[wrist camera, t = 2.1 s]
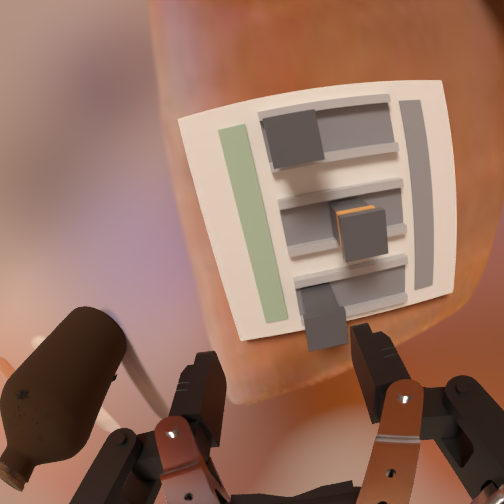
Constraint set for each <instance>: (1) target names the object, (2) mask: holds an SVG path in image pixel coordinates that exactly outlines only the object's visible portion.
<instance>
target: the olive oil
mask: <svg viewBox="0 0 504 504" xmlns="http://www.w3.org/2000/svg"><path fill="white" fill-rule="evenodd" d="M125 352H126V340H125V336H124V334H123V332H122V330H121V329H120V327H119V326H118V325H117V323H116V322H115V321H114V320H113V319H112V318H111V317H109V316H108V315H107V314H105V313H104V312H102V311H100V310H98V309H95V308H92V307H85V306H84V307H78V308H76V309H74V310H73V311H72V312H71V313H70V314H69V315H68V316H67V317H66V318H65V319H64V320H63V321H62V322H61V323H60V324H59V325H58V326H57V327H56V328H55V330H54V331H53V332H52V333H51V334H50V335H49V336H48V337H47V338H46V339H45V340H44V341H43V342H42V343H41V344H40V345H39V346H38V347H37V348H36V350H35V351H34V352H33V353H32V354H31V355H30V356H29V357H28V358H27V359H26V360H25V361H24V363H22V365H21V366H20V367H19V368H18V369H17V370H16V371H15V372H14V373H13V374H12V375H11V377H10V378H9V379H8V380H7V382H6V384H5V386H4V388H3V391H2V395H1V398H0V411H1V416H2V421H3V426H4V430H5V434H6V438H7V447H6V449H5V451H4V452H3V454H2V455H1V457H0V478H1V479H2V480H3V481H4V482H6V483H7V484H8V485H10V486H11V487H13V488H15V489H16V490H18V491H23V489H24V484H25V482H28V481H29V478H30V476H31V474H32V472H33V469H34V467H35V466H37V465H40V464H45V463H51V462H57V461H62V460H66V459H69V458H72V457H73V456H75V455H76V454H77V453H78V452H79V451H80V450H81V449H82V448H83V447H84V446H85V444H86V443H87V440H88V439H89V437H90V434H91V431H92V429H93V426H94V423H95V421H96V418H97V416H98V413H99V411H100V408H101V406H102V403H103V401H104V399H105V396H106V394H107V392H108V389H109V387H110V385H111V382H113V381H114V380H115V379H116V377H117V375H116V376H115V373H116V371H117V369H118V366H119V365H120V363H121V361H122V359H123V356H124V354H125Z"/></svg>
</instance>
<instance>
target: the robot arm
mask: <svg viewBox="0 0 504 504" xmlns="http://www.w3.org/2000/svg"><path fill="white" fill-rule="evenodd" d="M350 337H351V355H352V361H353V366H354V369H355V372H356V375H357V378H358V381H359V384H360V387H361V390H362V393H363V396H364V399H365V403H366V406H367V409H368V412H369V415H370V419H371V422H372V424H374V423H378V422H379V423H380V426H379V430H378V434H377V437H376V438H375V442H374V445H373V449H372V453H371V457H370V460H369V464H368V467H367V471H366V474H365V477H364V480H363V483H362V487H353V483H352V480H351V481H346V482H341V483H336V484H331V485H326V486H321V487H319V488H316V489H314V490H311V491H308V492H305V493H303V494H300V495H297V496H294V497H282V496H274V495H266V494H241V495H231V498H230V496H229V495H228V493H227V491H226V490H225V488H224V486H223V483H222V481H221V479H220V477H219V474H218V472H217V470H216V468H215V465H214V463H213V461H212V458H211V457H210V448H211V447H219V445H220V437H221V429H222V420H223V412H224V405H225V397H226V388H227V384H226V378H225V374H224V372H223V369H222V367H221V364H220V362H219V359H218V357H217V354H216V352H215V351H208V352H199V353H197V354H196V358H195V361H194V365H187V367H186V368H185V369H184V370H183V372H182V373H181V375H180V379H179V382H178V383H179V384H178V385H177V389H176V390H177V391H176V393H175V396H174V399H173V402H172V406H171V409H170V413H169V416H168V417H166V418H164V419H163V420H161V421H160V422H159V423H158V424H157V426H156V428H155V430H154V431H150V432H147V433H142V434H138V435H136V434H135V433H134V432H133V431H132V430H131V429H128V428H120V429H117V430H115V431H113V432H112V433H111V434H110V435H109V436H108V438H107V439H106V441H105V443H104V444H103V446H102V448H101V450H100V451H99V453H98V455H97V457H96V458H95V460H94V461H93V463H92V465H91V467H90V469H89V470H88V472H87V474H86V475H85V477H84V479H83V480H82V482H81V484H80V486H79V488H78V489H77V491H76V493H75V494H74V496H73V498H72V500H71V502H70V503H69V504H154V502H155V499H156V497H157V495H158V492H159V490H160V487H161V485H162V487H163V490H164V494H165V497H166V500H167V504H409V501H410V497H411V493H412V488H413V484H414V478H415V473H416V468H417V461H418V456H419V450H420V440H429V439H434V441H435V442H436V444H437V445H438V447H439V448H440V450H441V451H442V453H443V454H444V456H445V457H446V459H447V460H448V462H449V464H450V465H451V467H452V468H453V470H454V471H455V473H456V474H457V476H458V478H459V479H460V481H461V482H462V484H463V485H464V487H465V489H466V490H467V492H468V494H469V495H470V497H471V498H472V500H473V501H472V502H471V503H470V504H504V411H503V410H502V408H501V407H500V406H499V405H498V404H497V403H496V402H495V401H494V399H493V398H492V397H491V396H490V395H489V394H488V393H487V392H486V391H485V390H484V388H483V387H482V386H481V385H480V384H479V383H478V382H477V381H476V380H475V379H473V378H472V377H469V376H465V375H461V376H456V377H454V378H452V379H451V380H450V381H449V382H448V383H447V385H446V387H436V388H426V387H422V386H421V385H420V384H419V383H418V382H416V381H414V380H412V379H411V378H410V376H409V374H408V372H407V370H406V368H405V366H404V364H403V362H402V360H401V358H400V356H399V354H398V353H397V351H396V348H395V347H394V345H393V343H392V341H391V339H390V337H388V336H387V335H386V334H384V333H383V332H381V331H380V332H377V333H372V331H371V329H370V326H369V324H368V323H364V324H359V325H355V326H351V327H350Z"/></svg>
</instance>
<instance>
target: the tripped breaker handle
mask: <svg viewBox="0 0 504 504" xmlns="http://www.w3.org/2000/svg"><path fill="white" fill-rule="evenodd" d="M329 210H330V216H331V223H332V229H333V235H334V236H335V238H336V239H337V241H338V242H339V244H340V247H341V250H342V251H343V259H344V261H345V262H346V263H347V262H352V261H357V260H361V259H366V258H370V257H375V256H379V255H384V254H388V238H387V225H386V213H385V209H384V208H382V207H379V208H375V206H373V205H369V204H368V203H366V202H365V201H363V200H362V199H361V198H355V199H349V200H344V201H339V202H333V203H329Z"/></svg>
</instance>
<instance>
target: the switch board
mask: <svg viewBox="0 0 504 504" xmlns="http://www.w3.org/2000/svg"><path fill="white" fill-rule="evenodd" d="M178 123H179V127H180V131H181V135H182V139H183V143H184V147H185V151H186V155H187V159H188V163H189V166H190V170H191V174H192V178H193V181H194V185H195V189H196V192H197V196H198V200H199V203H200V207H201V211H202V214H203V218H204V221H205V225H206V228H207V232H208V235H209V239H210V242H211V246H212V249H213V253H214V256H215V259H216V263H217V266H218V269H219V273H220V276H221V280H222V283H223V286H224V289H225V293H226V296H227V299H228V302H229V306H230V309H231V312H232V315H233V319H234V322H235V325H236V328H237V331H238V334H239V337H240V341H244V340H250V339H256V338H262V337H268V336H274V335H280V334H285V333H291V332H296V331H301V330H305V331H306V337H307V343H308V349H309V352H310V351H315V350H320V349H324V348H329V347H334V346H338V345H343V344H347V343H348V335H347V321H348V320H353V319H357V318H361V317H365V316H369V315H373V314H377V313H381V312H385V311H389V310H393V309H397V308H401V307H404V306H408V305H411V304H415V303H419V302H422V301H426V300H429V299H432V298H436V297H439V296H442V295H446V294H449V293H452V292H453V287H454V275H455V261H456V235H457V208H456V182H455V168H454V157H453V147H452V139H451V131H450V124H449V118H448V112H447V106H446V101H445V95H444V91H443V86H442V81H441V80H404V81H382V82H368V83H356V84H346V85H337V86H328V87H321V88H314V89H307V90H300V91H294V92H288V93H283V94H277V95H272V96H267V97H262V98H257V99H253V100H248V101H244V102H239V103H235V104H231V105H227V106H223V107H219V108H215V109H211V110H207V111H204V112H200V113H197V114H193V115H190V116H186V117H183V118H180V119H178ZM355 198H361V199H362V200H363V201H365V202H366V203H368V204H369V205H373V206H375V208H379V207H382V208H384V209H385V213H386V225H387V238H388V254H384V255H379V256H375V257H370V258H366V259H361V260H357V261H352V262H347V263H346V262H345V261H344V259H343V251H342V250H341V247H340V244H339V242H338V241H337V239H336V238H335V236H334V235H333V229H332V223H331V216H330V210H329V203H333V202H339V201H344V200H349V199H355Z"/></svg>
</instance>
